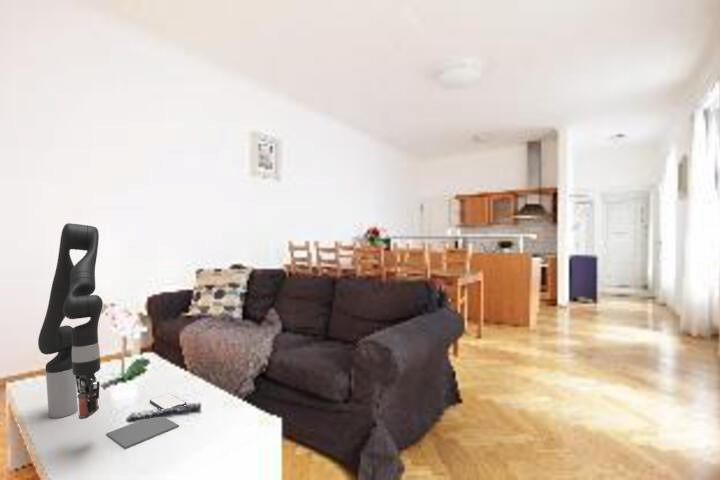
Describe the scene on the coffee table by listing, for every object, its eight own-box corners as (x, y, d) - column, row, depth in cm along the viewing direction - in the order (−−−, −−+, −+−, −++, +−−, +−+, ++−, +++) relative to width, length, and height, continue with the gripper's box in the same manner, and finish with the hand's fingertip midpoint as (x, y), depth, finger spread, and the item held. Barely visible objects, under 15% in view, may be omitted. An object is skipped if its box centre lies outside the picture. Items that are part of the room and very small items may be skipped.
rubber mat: (106, 435, 145) (106, 433, 145) (158, 415, 159) (158, 413, 159) (125, 449, 135) (125, 447, 135) (179, 426, 149) (178, 425, 149)
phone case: (148, 403, 171) (165, 414, 160) (148, 399, 171) (164, 410, 160) (170, 396, 177) (188, 406, 166) (170, 392, 177) (187, 402, 166)
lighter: (91, 407, 141) (89, 378, 140) (101, 407, 141) (99, 378, 140) (76, 419, 133) (74, 388, 132) (87, 418, 133) (85, 387, 132)
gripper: (107, 358, 134) (110, 411, 135) (90, 350, 143) (93, 399, 144) (80, 365, 128) (83, 420, 129) (64, 356, 137) (67, 407, 138)
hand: (88, 409), depth 137 cm, fingers closed on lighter, 5 cm apart
